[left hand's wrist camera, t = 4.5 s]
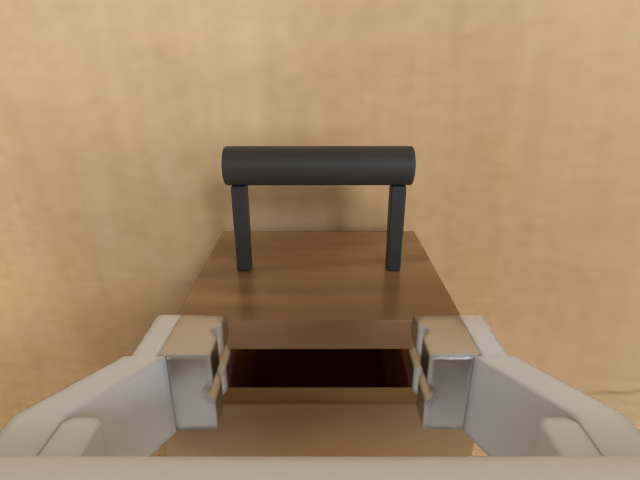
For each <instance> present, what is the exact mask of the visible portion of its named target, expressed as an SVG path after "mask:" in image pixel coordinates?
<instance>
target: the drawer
mask: <svg viewBox="0 0 640 480" xmlns="http://www.w3.org/2000/svg"><path fill="white" fill-rule="evenodd" d="M222 175H223V180H224V182H225V184H226V185H232V186H231V195H232V208H233V221H234V232H223V234H222V236H221V238H220V239H219V241H218V243H217V245H216V247H215V248H214V250H213V252H212V254H211V255H210V257H209V259H208V261H207V262H206V264H205V266H204V268H203V270H202V271H201V273H200V275H199V277H198V278H197V280H196V282H195V284H194V285H193V287H192V289H191V291H190V293H189V294H188V296H187V298H186V300H185V301H184V303H183V305H182V307H181V308H180V310H179V312H178V314H177V315H182V316H183V315H203V316H226V317H227V319H228V324H229V336H228V339H227V342H226V345H227V346H228V347H229V348H230V349H231V357H232V370H231V379H230V384H229V387H411V385H410V380H409V370H408V358H409V349H410V348H411V347H412V346H413V345H414V343H413V339H412V336H411V333H410V332H411V323H412V319H413V317H415V316H451V315H460V313H459V311H458V310H457V308H456V306H455V304H454V302H453V301H452V299H451V297H450V295H449V293H448V292H447V290H446V288H445V286H444V284H443V283H442V281H441V279H440V277H439V276H438V274H437V272H436V270H435V268H434V267H433V265H432V263H431V261H430V259H429V258H428V256H427V254H426V252H425V250H424V249H423V247H422V245H421V243H420V241H419V240H418V238H417V236H416V234H415V233H414V232H413V231H403V227H404V213H405V199H406V186H405V185H411V184H412V183H413V180H414V176H415V151H414V148H413V147H412V146H226V147H224V149H223V152H222ZM248 185H390V187H389V205H388V222H387V232H251V231H250V215H249V198H248Z"/></svg>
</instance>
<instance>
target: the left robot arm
mask: <svg viewBox="0 0 640 480" xmlns="http://www.w3.org/2000/svg"><path fill="white" fill-rule="evenodd" d="M410 333H411V336H412V339H413V343H414V345H413V346H412V347H411V348H410V349H409V358H408V370H409V380H410V385H411V389H412V392H414V393H415V394H416V395H417V403H416V407H417V410H418V413H419V417H420V420H421V424H422V427H423V429H455V430H464V432H465V433H466V434H467V435H468V436H469V437H470V438H471V439H472V440H473V441H474V442H475V443H476V444H477V445H478V446H479V447H480V448H481V449H482V450H483V451H484V452H485V453H486V454H487V455H489V456H152V455H153V454H154V453H155V452H156V451H157V450H158V449H159V448H160V447H161V446H162V445H163V444H164V443H165V442H166V441H167V440H168V439H169V438H170V437H172V436H173V435H174V434H175V433H176V430H185V429H217V427H218V424H219V420H220V417H221V413H222V410H223V406H224V404H223V395H224V394H225V393H226V392H227V391H228V388H229V384H230V379H231V370H232V357H231V349H230V348H229V347H228V346H227V345H226V342H227V339H228V336H229V324H228V319H227V317H226V316H203V315H183V316H182V315H160V316H158V317H157V318H156V319H155V321H154V322H153V324H152V325H151V327H150V328H149V330H148V332H147V333H146V335H145V336H144V338H143V339H142V341H141V342H140V344H139V345H138V347H137V349H136V350H135V352H134V353H133V355H132V356H124V357H122V358H120V359H118V360H117V361H115V362H113V363H111V364H109V365H107V366H105V367H104V368H102V369H100V370H98V371H96V372H94V373H92V374H90V375H89V376H87V377H85V378H83V379H81V380H79V381H77V382H76V383H74V384H72V385H70V386H68V387H66V388H64V389H62V390H61V391H59V392H57V393H55V394H53V395H51V396H49V397H48V398H46V399H44V400H42V401H40V402H38V403H36V404H35V405H33V406H31V407H29V408H27V409H25V410H23V411H21V412H20V413H18V414H16V415H14V416H13V417H12V418H11V419H10V421H9V422H8V423H7V424H6V425H5V426H4V428H3V429H2V430H1V431H0V480H640V431H639V430H638V429H637V427H636V426H635V425H634V424H633V423H632V422H631V420H630V419H629V418H628V417H627V416H625V415H624V414H622V413H620V412H618V411H616V410H614V409H612V408H611V407H609V406H607V405H605V404H603V403H601V402H599V401H598V400H596V399H594V398H592V397H590V396H588V395H586V394H585V393H583V392H581V391H579V390H577V389H575V388H573V387H572V386H570V385H568V384H566V383H564V382H562V381H560V380H559V379H557V378H555V377H553V376H551V375H549V374H547V373H546V372H544V371H542V370H540V369H538V368H536V367H534V366H533V365H531V364H529V363H527V362H525V361H523V360H521V359H520V358H518V357H516V356H508V355H507V353H506V352H505V350H504V349H503V347H502V346H501V344H500V343H499V341H498V340H497V338H496V337H495V335H494V334H493V332H492V331H491V329H490V327H489V326H488V324H487V323H486V321H485V320H484V318H483V317H482V316H480V315H451V316H415V317H413V319H412V323H411V332H410Z"/></svg>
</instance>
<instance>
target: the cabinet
mask: <svg viewBox="0 0 640 480" xmlns="http://www.w3.org/2000/svg"><path fill="white" fill-rule="evenodd" d="M416 403H417V395H416V394H415V393H414V392H412V389H411V387H229V388H228V391H227V392H226V393H225V394H224V395H223V404H224V406H223V410H222V413H221V417H220V420H219V424H218V427H217V429H185V430H176V433H175V434H174V435H173V436H172V437H170V438H169V439H168V440H167V441H166V442H165V443H164V447H165V453H166V456H472V449H473V443H474V441H473V440H472V439H471V438H470V437H469V436H468V435H467V434H466V433H465V432H464V430H455V429H423V427H422V424H421V420H420V417H419V413H418V410H417V407H416Z"/></svg>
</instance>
